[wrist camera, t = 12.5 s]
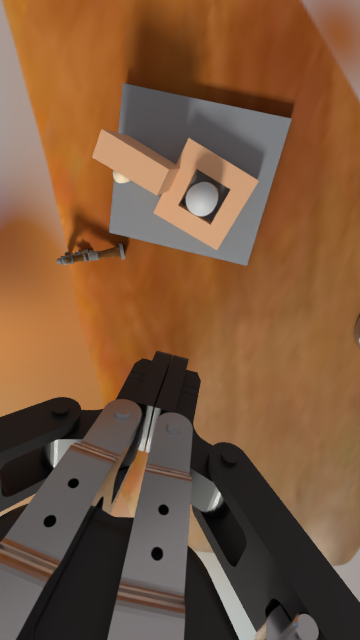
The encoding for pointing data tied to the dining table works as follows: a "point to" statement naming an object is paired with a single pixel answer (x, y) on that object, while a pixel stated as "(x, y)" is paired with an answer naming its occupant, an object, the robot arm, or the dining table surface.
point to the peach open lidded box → (178, 182)
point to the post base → (204, 192)
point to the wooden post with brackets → (91, 255)
